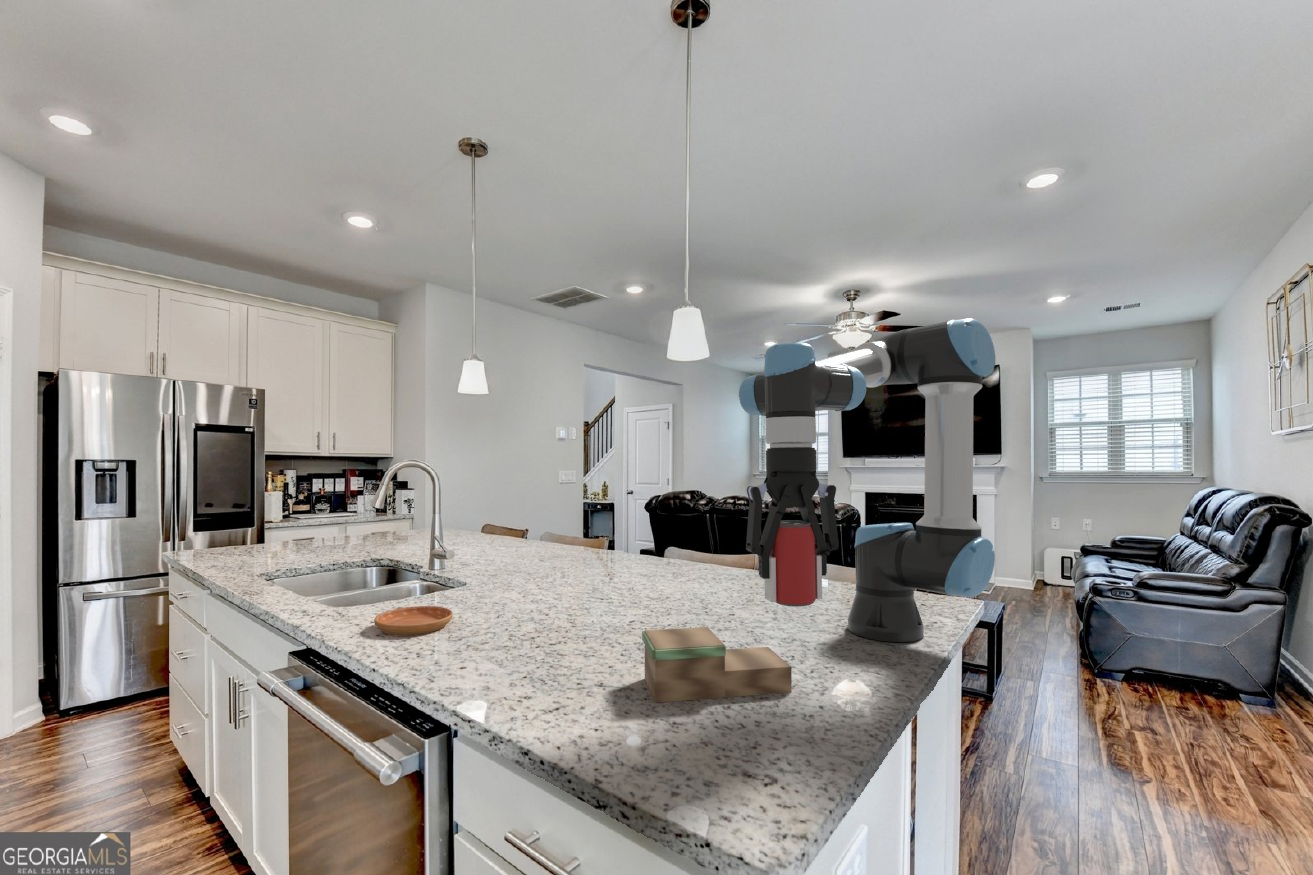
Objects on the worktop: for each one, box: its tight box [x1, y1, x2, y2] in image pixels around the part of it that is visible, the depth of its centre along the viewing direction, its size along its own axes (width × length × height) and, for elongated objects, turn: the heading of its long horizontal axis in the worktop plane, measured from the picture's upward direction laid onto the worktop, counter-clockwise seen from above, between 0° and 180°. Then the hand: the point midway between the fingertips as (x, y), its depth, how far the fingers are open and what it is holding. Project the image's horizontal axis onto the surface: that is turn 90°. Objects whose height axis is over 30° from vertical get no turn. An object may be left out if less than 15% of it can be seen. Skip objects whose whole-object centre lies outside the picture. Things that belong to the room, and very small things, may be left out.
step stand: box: [641, 626, 793, 703], centre depth 96 cm, size 22×10×8 cm, turn 101°
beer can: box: [770, 519, 817, 608], centre depth 89 cm, size 7×7×12 cm
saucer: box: [373, 605, 454, 637], centre depth 129 cm, size 16×16×3 cm
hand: (793, 598), depth 88 cm, fingers closed on beer can, 7 cm apart
